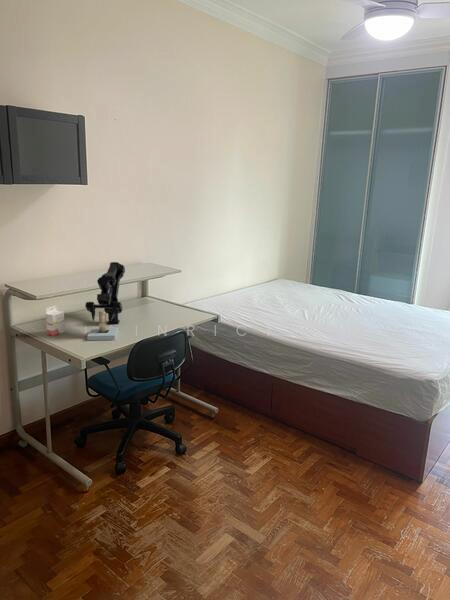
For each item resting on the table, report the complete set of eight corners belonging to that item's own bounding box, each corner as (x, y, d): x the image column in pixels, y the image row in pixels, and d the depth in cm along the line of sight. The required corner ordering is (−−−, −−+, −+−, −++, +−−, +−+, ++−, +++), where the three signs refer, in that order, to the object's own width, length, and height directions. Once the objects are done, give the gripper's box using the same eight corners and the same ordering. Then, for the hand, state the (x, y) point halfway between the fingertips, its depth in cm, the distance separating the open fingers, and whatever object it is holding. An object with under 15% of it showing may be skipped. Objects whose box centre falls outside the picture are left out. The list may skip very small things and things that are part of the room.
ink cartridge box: (54, 336, 236) (51, 309, 233) (46, 334, 238) (44, 308, 235) (65, 331, 244) (63, 305, 240) (58, 330, 246) (56, 304, 242)
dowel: (99, 334, 238) (97, 311, 236) (105, 333, 240) (104, 310, 238) (100, 335, 235) (99, 312, 233) (107, 334, 237) (106, 312, 235)
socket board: (92, 332, 244) (92, 327, 243) (118, 331, 245) (118, 327, 245) (87, 340, 231) (87, 335, 230) (114, 340, 232) (114, 335, 231)
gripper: (85, 287, 235) (80, 313, 227) (120, 287, 236) (116, 313, 228) (90, 298, 245) (85, 323, 237) (124, 298, 245) (120, 323, 237)
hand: (101, 320), depth 234 cm, fingers open, 9 cm apart
